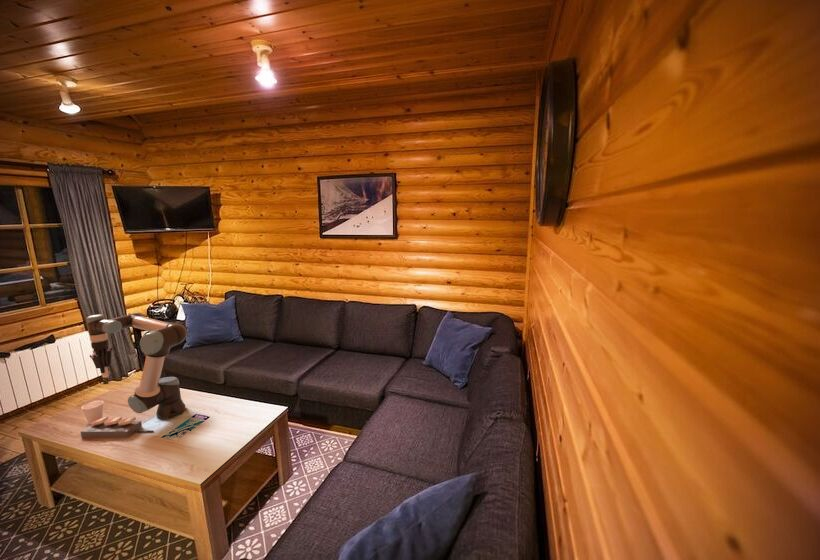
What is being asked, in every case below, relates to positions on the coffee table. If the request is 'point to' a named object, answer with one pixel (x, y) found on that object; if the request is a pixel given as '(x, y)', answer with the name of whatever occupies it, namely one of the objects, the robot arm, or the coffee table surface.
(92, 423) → the rocker
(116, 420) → the rocker
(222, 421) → the coffee table surface
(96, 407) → the cup
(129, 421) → the rocker
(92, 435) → the power strip
